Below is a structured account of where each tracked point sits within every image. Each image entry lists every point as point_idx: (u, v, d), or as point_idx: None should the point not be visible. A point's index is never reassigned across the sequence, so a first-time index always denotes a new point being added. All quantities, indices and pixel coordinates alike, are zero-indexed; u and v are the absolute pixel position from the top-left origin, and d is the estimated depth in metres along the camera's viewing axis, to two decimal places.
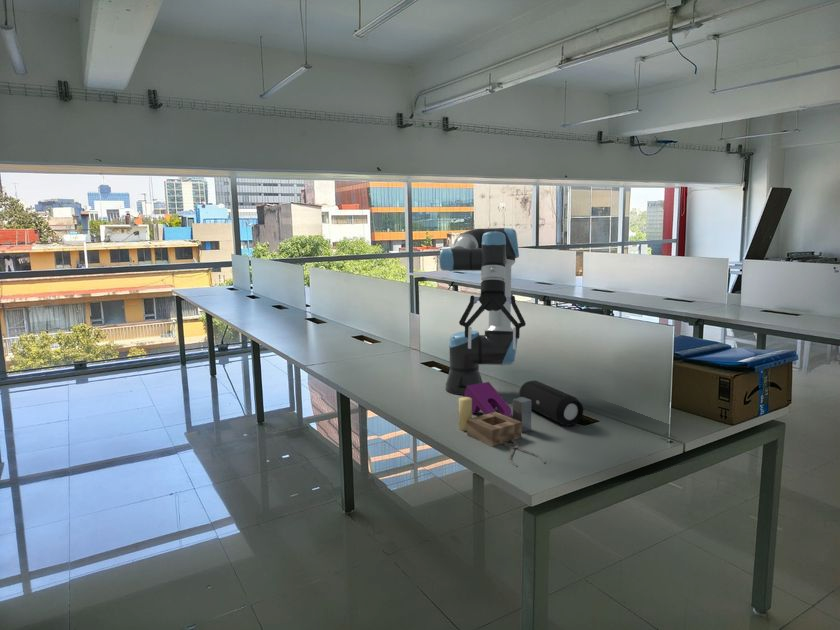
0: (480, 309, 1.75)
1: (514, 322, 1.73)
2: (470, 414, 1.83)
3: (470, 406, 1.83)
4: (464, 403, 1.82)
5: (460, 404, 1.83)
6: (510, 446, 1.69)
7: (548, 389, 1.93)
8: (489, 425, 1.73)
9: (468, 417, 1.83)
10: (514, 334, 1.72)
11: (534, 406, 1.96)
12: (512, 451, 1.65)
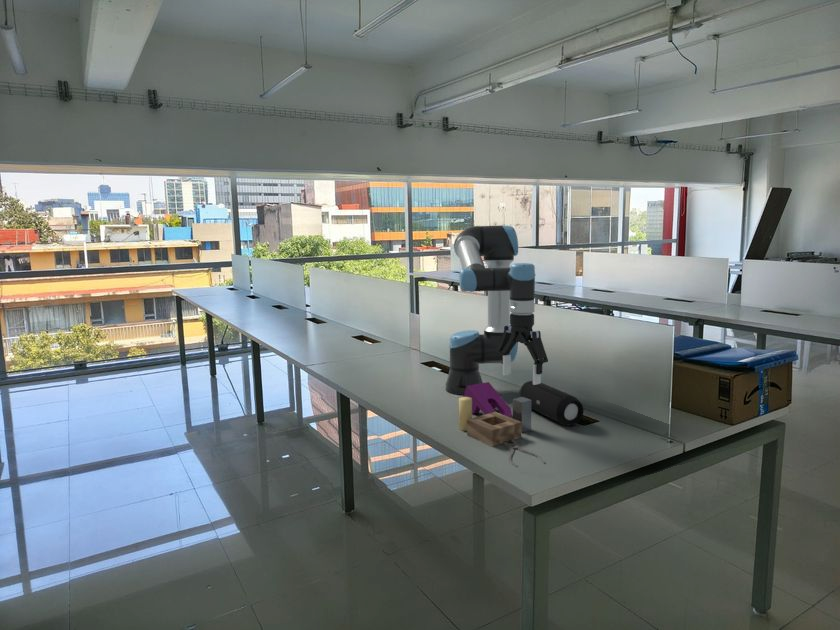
0: (510, 341, 1.81)
1: (534, 358, 1.73)
2: (470, 414, 1.83)
3: (470, 406, 1.83)
4: (464, 403, 1.82)
5: (460, 404, 1.83)
6: (510, 446, 1.69)
7: (548, 389, 1.93)
8: (489, 425, 1.73)
9: (468, 417, 1.83)
10: (533, 370, 1.73)
11: (534, 406, 1.96)
12: (512, 451, 1.65)
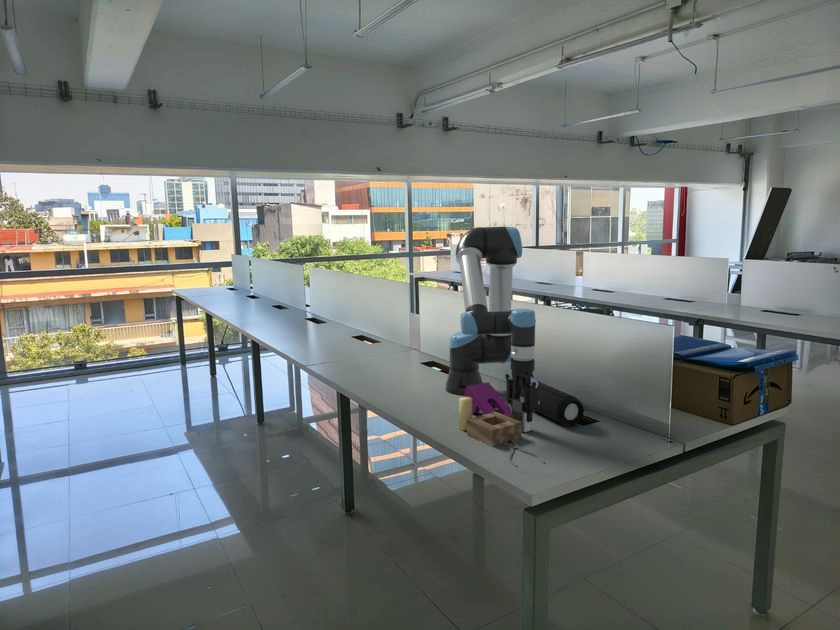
0: (514, 388, 1.82)
1: (525, 406, 1.79)
2: (470, 414, 1.83)
3: (470, 406, 1.83)
4: (465, 403, 1.82)
5: (460, 404, 1.83)
6: (510, 446, 1.69)
7: (548, 389, 1.93)
8: (489, 425, 1.73)
9: (468, 417, 1.83)
10: (524, 418, 1.80)
11: None
12: (512, 451, 1.65)
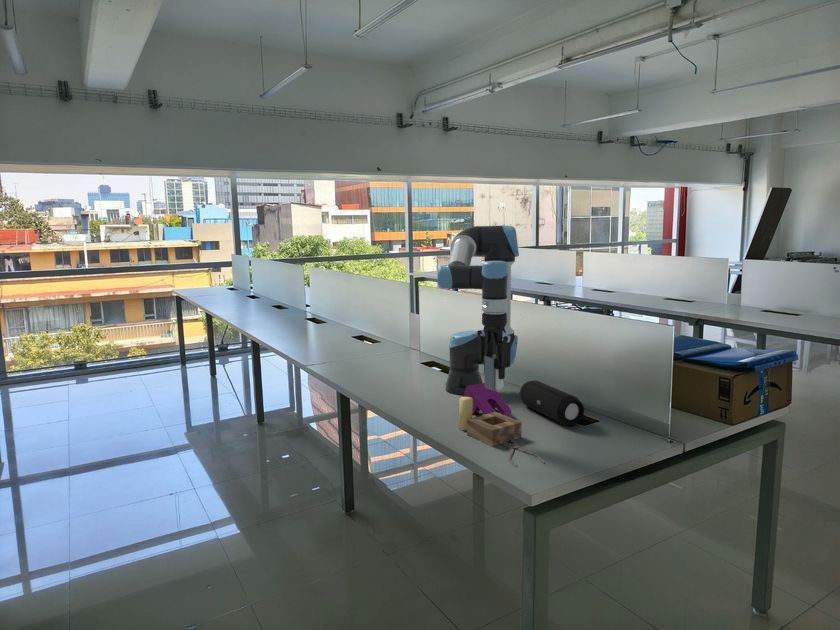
0: (486, 344, 1.74)
1: (497, 362, 1.71)
2: (471, 414, 1.83)
3: (471, 406, 1.83)
4: (465, 403, 1.82)
5: (461, 404, 1.82)
6: (510, 446, 1.69)
7: (549, 389, 1.93)
8: (489, 425, 1.73)
9: (469, 417, 1.83)
10: (496, 375, 1.72)
11: (535, 406, 1.96)
12: (512, 451, 1.65)
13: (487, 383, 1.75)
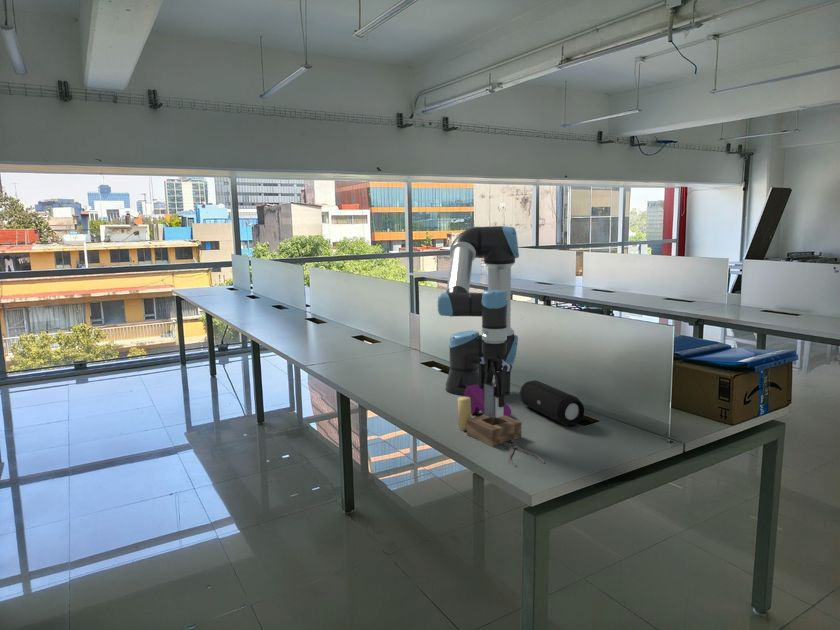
0: (486, 372, 1.76)
1: (497, 391, 1.73)
2: (470, 413, 1.83)
3: (469, 405, 1.83)
4: (463, 403, 1.82)
5: (459, 404, 1.82)
6: (510, 446, 1.69)
7: (549, 389, 1.93)
8: (489, 425, 1.73)
9: (468, 416, 1.83)
10: (496, 403, 1.74)
11: (535, 406, 1.96)
12: (512, 451, 1.65)
13: (487, 410, 1.76)
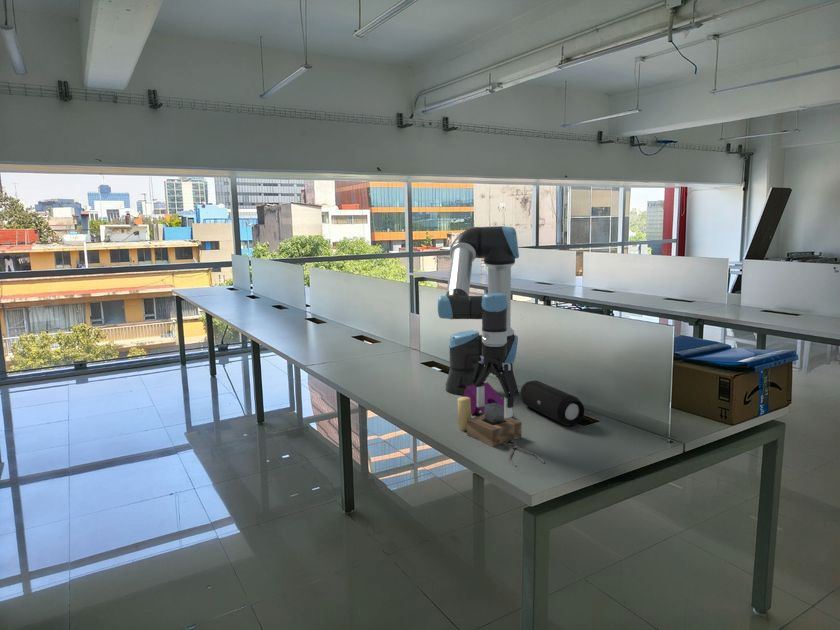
0: (483, 372, 1.77)
1: (505, 392, 1.70)
2: (470, 413, 1.83)
3: (469, 405, 1.83)
4: (464, 403, 1.81)
5: (459, 404, 1.82)
6: (510, 446, 1.69)
7: (549, 389, 1.93)
8: (489, 425, 1.73)
9: (468, 417, 1.83)
10: (505, 404, 1.70)
11: (535, 406, 1.96)
12: (511, 451, 1.65)
13: None
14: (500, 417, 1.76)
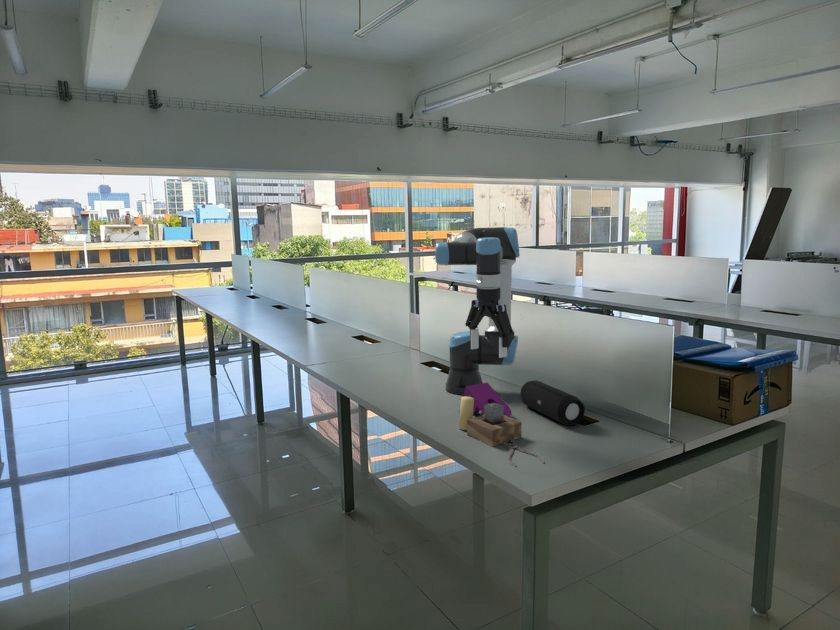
0: (477, 315, 1.83)
1: (500, 332, 1.75)
2: (472, 413, 1.83)
3: (473, 405, 1.83)
4: (468, 402, 1.82)
5: (463, 404, 1.82)
6: (509, 446, 1.69)
7: (549, 389, 1.93)
8: (489, 425, 1.73)
9: (470, 416, 1.83)
10: (499, 344, 1.76)
11: (535, 406, 1.96)
12: (511, 451, 1.65)
13: None
14: (500, 417, 1.76)
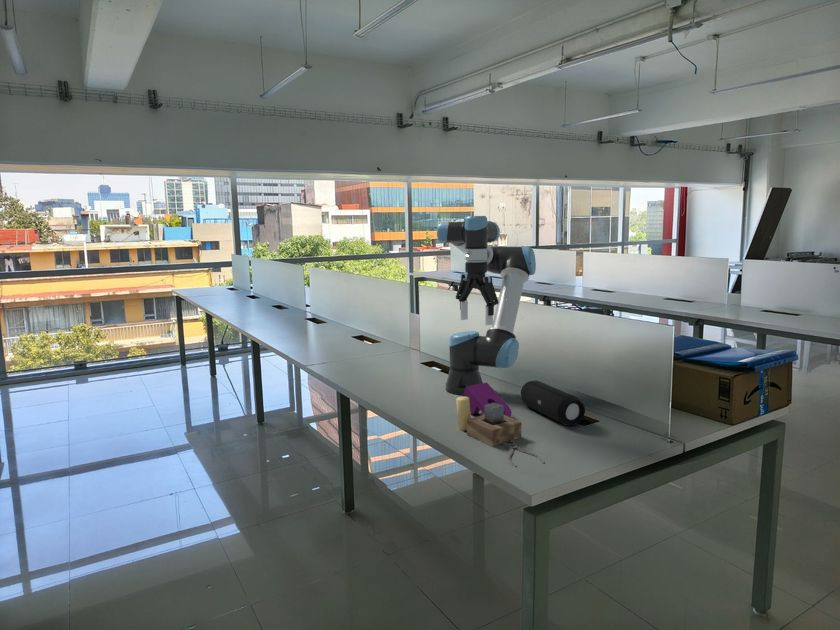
0: (466, 287, 1.99)
1: (486, 301, 1.91)
2: None
3: (469, 404, 1.83)
4: (465, 403, 1.81)
5: (460, 405, 1.82)
6: (509, 446, 1.69)
7: (549, 389, 1.93)
8: (489, 425, 1.73)
9: (469, 416, 1.83)
10: (486, 312, 1.91)
11: (535, 406, 1.96)
12: (511, 451, 1.65)
13: None
14: (500, 417, 1.76)
